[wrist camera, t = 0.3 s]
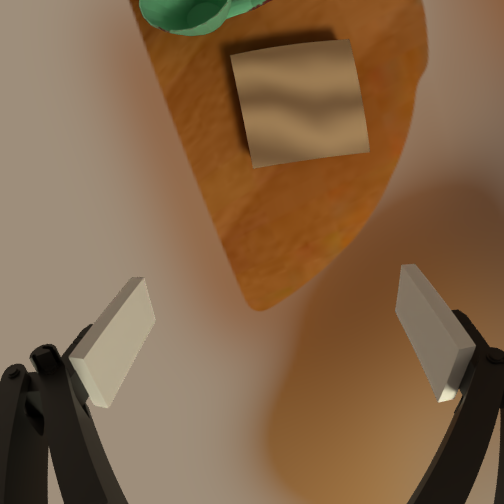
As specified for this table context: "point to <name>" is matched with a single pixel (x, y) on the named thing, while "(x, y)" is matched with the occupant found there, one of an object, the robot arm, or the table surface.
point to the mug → (193, 14)
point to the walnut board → (300, 102)
